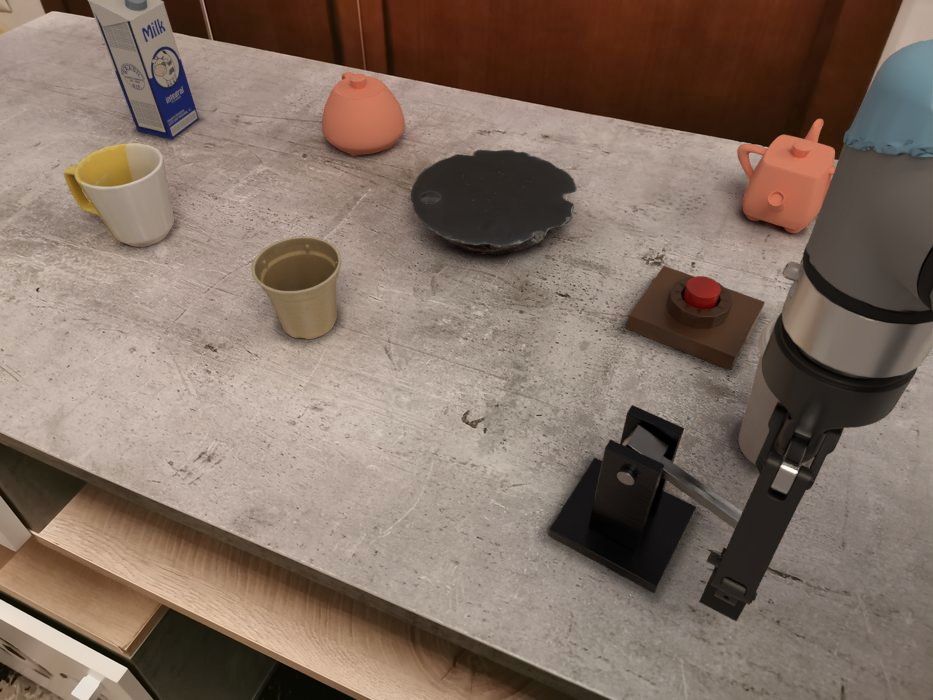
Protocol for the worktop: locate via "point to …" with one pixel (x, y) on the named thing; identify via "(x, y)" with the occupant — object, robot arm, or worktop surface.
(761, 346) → the coffee cup
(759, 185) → the teapot
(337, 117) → the sugar bowl
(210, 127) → the worktop surface
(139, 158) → the mug
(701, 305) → the button
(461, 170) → the board
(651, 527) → the lever bracket
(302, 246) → the flower pot
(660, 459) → the press lever
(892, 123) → the robot arm
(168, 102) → the milk carton
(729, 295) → the button block
